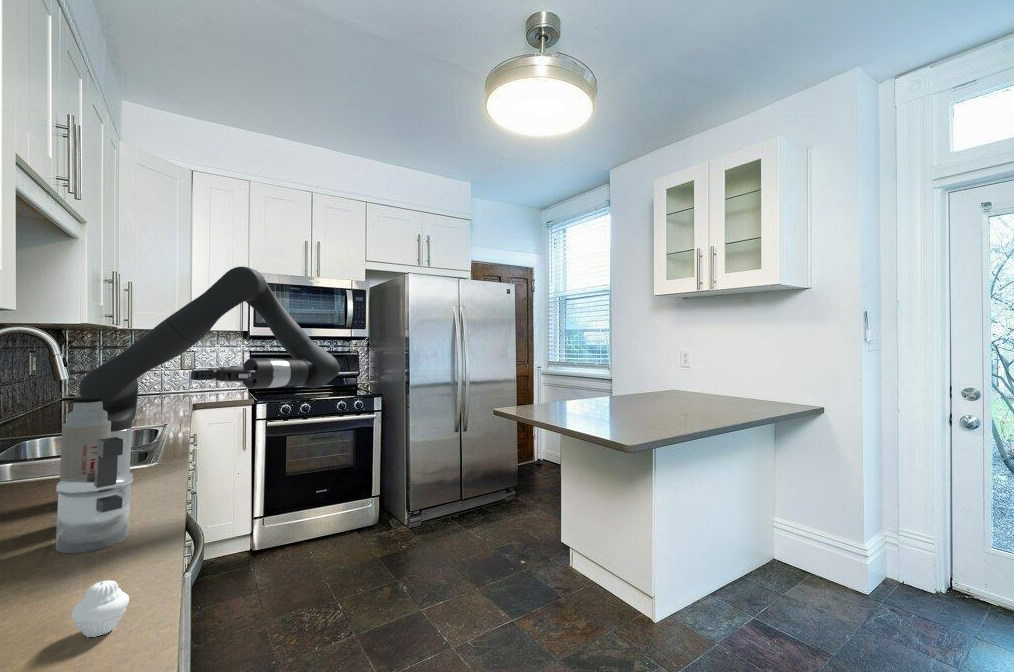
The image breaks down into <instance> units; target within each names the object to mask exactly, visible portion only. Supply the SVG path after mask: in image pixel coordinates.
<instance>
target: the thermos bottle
mask: <svg viewBox="0 0 1014 672" xmlns="http://www.w3.org/2000/svg"><path fill="white" fill-rule="evenodd" d="M102 401H103V397H81V396H80V397H75V398H73V399H72V403H74V404H73V406H72V411H70V412H68V413H67V414H66V417H65V418H66V422H65V423H63V424H62V426H61V447H60V449H61V450H60V464H59V465H60V468H59V469H60V470H59V482H61V481H63V480H66V479H69V478H73V477H77V476H81V475H87V474H89V473H94V472H95V458H96V454H97V439H105V438H110V434H111V421H109V420H107V417H108V415H107V411H105V410H103V403H102Z"/></svg>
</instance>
